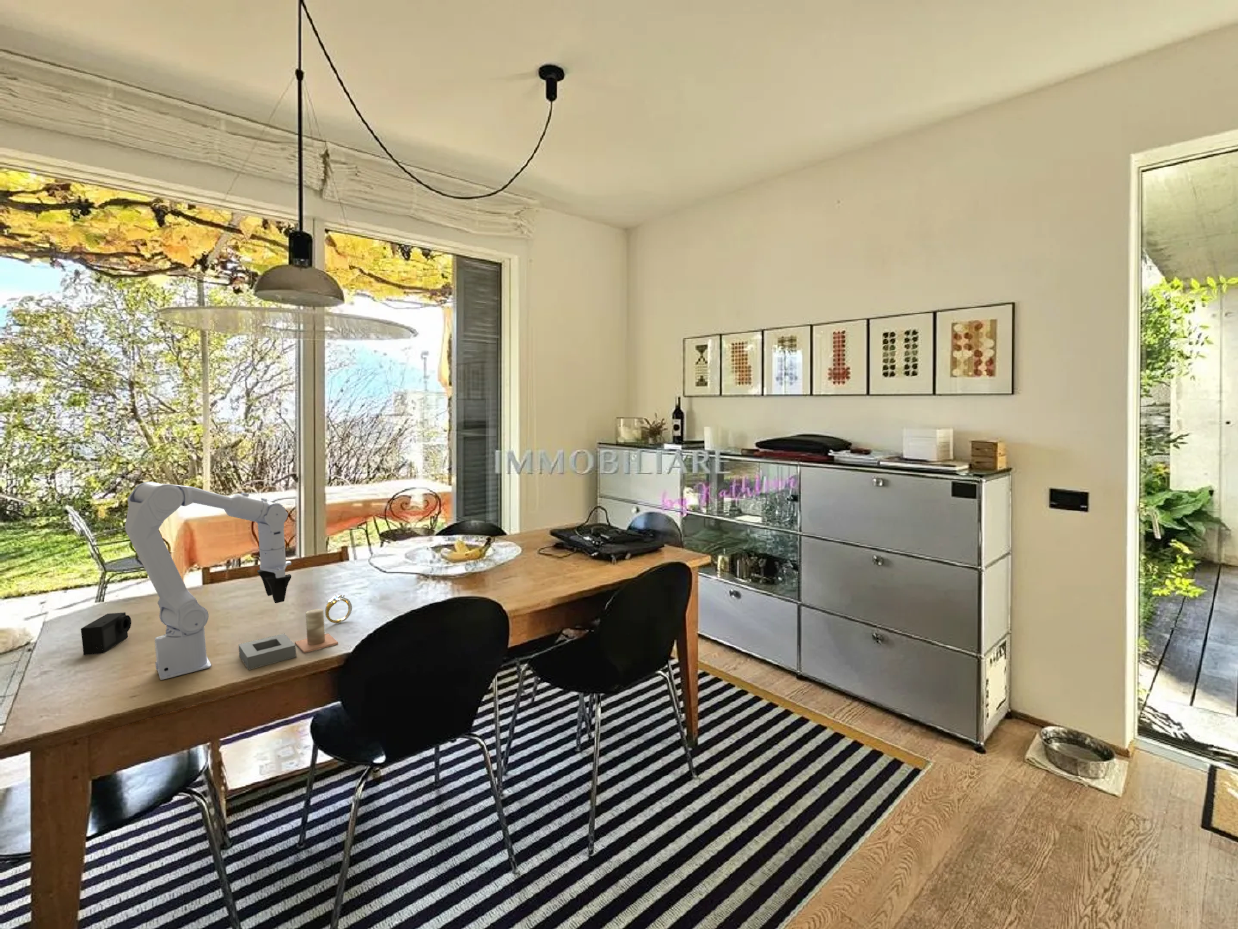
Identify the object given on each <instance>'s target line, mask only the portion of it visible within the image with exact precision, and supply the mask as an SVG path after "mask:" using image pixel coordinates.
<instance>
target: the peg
mask: <svg viewBox="0 0 1238 929" xmlns="http://www.w3.org/2000/svg"><path fill="white" fill-rule="evenodd" d="M324 614H325V613H324V610H323V609H321V608H315V609H310V610H307V611H306V612H305V623H306V624H305V626H306V639H307V643H308V645H318V644H321V643H323V642H325V634H326V633H325V631H326V630H325V618H324V617H325V616H324Z"/></svg>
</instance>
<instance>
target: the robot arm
mask: <svg viewBox="0 0 1238 929" xmlns="http://www.w3.org/2000/svg"><path fill="white" fill-rule="evenodd" d="M127 504H128V508H127V515H126V520H125V525H124V528H125V533H126V535H127V537H128V538H129V540H130V542H131V544H132V546H133V548H134V550H135V552H136V553H137V556H138V559H139V560H140V562H141V564H142V566H143V568H144V570H145V572H146V574H147V575H148V578H149V579H150V582H151V583H152V585H153V587H154V590H155V591H156V593H157V594H156V595H158V598H159V599H158V601H157V604H158V607H159V620H160V622H161V623H162V624H163V625H164V626H166V627H165V628H166V629H165V633H164V634H162V635H159V636H156V637H154V647H155V648H154V651H155V658H156V661H155V664H154V665H155V670H157V674H158V676H159V679H160V680H161V681H162V680H167V679H170V678H175V677H178V676H183V675H186V674H190V673H193V672H198V671H202V670H206V669H209V668H212V664H211V663H212V662H211V661H210V660H209V658H208V654H207V648H206V647H207V644H206V632H205V627H206V625H207V623H208V621H209V611H208V610H207V609H206V607H204V606H202V605H201V604H200V603H199V601H198V600H197V599H196V597H195V596H194V595H193V594H192V593H191V592H190V591H189V590H188V588H187V586H186V584H185V582H184V580H183V578H182V576H181V574H180V572H179V570H178V567H177V566H176V563H175V562H174V560H173V557H172V555H171V554H170V551H169V549H168V547H167V545H166V542H165V540H164V538H163V537H162V535H161V533H160V531H159V529H160V528H161V527H162V525H163V523H164V521H165V520H167V519H168V518H169V517H170V516H171V515H172V514H173V513H174V512H176V511H178V509H179V508H180V507H181V506H182V507H187V506H189V505H191V504H197V505H203V506H206V507H207V506H208V507H212V508H218V509H222V510H224V511H225V513H226V515H227V517H228V516H229V517H233V518H237V519H241V520H246V521H250V522H255V523H257V530H258V531H257V532H258V535H257V536H258V546H259V549H258V550H259V561H260V562H259V563H260V565H259V569H257V571H256V572H257V573H258V575H259V577H260V578H261V580H262V583H263V585H264V590H265V593H266V595H267V597H270V596H272V600H273V602H274V603H275V604H278V603H279V604H280V603H284V602H285V598H286V594H287V588H288V585H289V582H290V581H291V579H292V574H290V573H289V574H286V568H287V566H291V565H292V561H291V560H286V541H285V523H286V521H287V519H288V517H289V513H288V512H287V510H286V508H285V507H284V506H283V505H282V504H280V503H277V502H271V501H268V499H267V498H263V497H261V498H257V497H256V498H255V497H253V496H250V493H247V492H240V493H234V494H232V495H230V496H226V495H223V494H219V493H216V492H212V491H209V490H205V489H203V488H202V489H201V488H198V487H194V486H188V485H182V484H173V483H172V484H171V483H159V482H155V481H144V482H141V483H139V484H138V485H137V486H136V487H135V488H134V489H133V491H131V493H130V494H129V495H128V497H127Z"/></svg>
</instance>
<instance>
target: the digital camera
mask: <svg viewBox="0 0 1238 929" xmlns="http://www.w3.org/2000/svg"><path fill="white" fill-rule="evenodd" d="M131 626H132V619H131V617H130V615H127V613H126V612H112V613H111V612H109V613H107V614H103V616H101V617H99V618H97V619H95V620H93V621H92V622H90V623H88V624H86V625H85V626H82V627H81V628H80V633H81V644H82V651H83V652H82V653H83V656H87V655H89V656H90V655H98V654H105V653H106V652H108V651H109V650H112V649H113V648H114V647H116V646H117V645H119V644H120V643H121V642H124V640H126V639H128V637H129V633H128V632H129V630H131V628H132V627H131Z"/></svg>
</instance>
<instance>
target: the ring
mask: <svg viewBox="0 0 1238 929" xmlns="http://www.w3.org/2000/svg"><path fill="white" fill-rule="evenodd" d="M345 596H346V595H345V594H338V595H337V594H335V595H334V596H332V598H331V599H329V600H328V602H327V603H326V606H325V609H324V614H325V617H326V619H327V620H328V621H329V622H331V623H333V624H338V625H339V624H341V623H343V622H345V621H346V620H347V619H348V618H349V617H350V616H351V615H352V612H353V611H352V610H353V604H352V602H351V601H350V600H349V599H348V598H346V597H345ZM340 601H341V602H342V601H343V602H344V603H345V604H346V605H347V608H348V609H347V610H348V611H347V613H346V614H345V616H344V617H342V618H338V619H335V620H334V619H332V618H331V617H330V610H331V609H332V607H333V606H334V605H335V604H337V603H338V602H340Z"/></svg>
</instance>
